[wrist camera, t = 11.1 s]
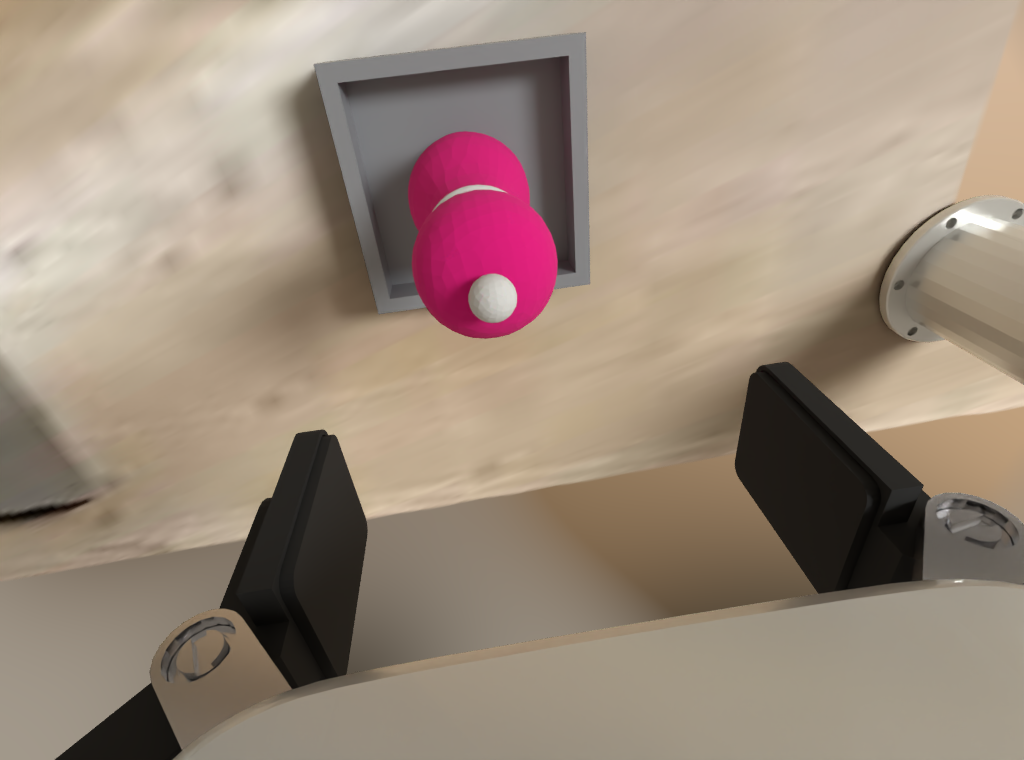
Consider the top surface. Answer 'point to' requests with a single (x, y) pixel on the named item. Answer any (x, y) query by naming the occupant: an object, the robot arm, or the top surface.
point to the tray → (456, 108)
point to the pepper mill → (478, 237)
